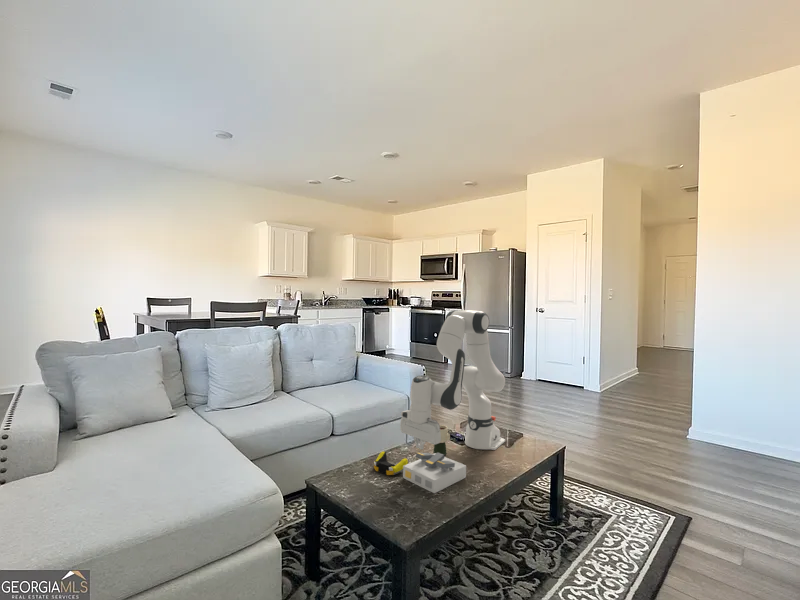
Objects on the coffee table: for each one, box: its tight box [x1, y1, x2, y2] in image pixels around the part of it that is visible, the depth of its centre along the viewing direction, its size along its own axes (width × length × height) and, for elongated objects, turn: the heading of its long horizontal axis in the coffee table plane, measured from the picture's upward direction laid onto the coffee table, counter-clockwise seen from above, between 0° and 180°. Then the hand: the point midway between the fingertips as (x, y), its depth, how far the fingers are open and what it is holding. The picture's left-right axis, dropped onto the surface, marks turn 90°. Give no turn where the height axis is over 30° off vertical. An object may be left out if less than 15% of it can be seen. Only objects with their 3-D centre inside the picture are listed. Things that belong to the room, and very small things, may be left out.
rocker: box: [425, 453, 445, 468], centre depth 164 cm, size 8×3×2 cm, turn 134°
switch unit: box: [402, 453, 467, 494], centre depth 164 cm, size 20×17×6 cm
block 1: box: [415, 452, 434, 460], centre depth 168 cm, size 8×3×2 cm, turn 134°
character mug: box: [432, 424, 451, 456], centre depth 188 cm, size 11×7×13 cm, turn 47°
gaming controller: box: [373, 451, 409, 476], centre depth 170 cm, size 15×6×10 cm
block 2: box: [436, 461, 455, 468], centre depth 160 cm, size 8×3×2 cm, turn 134°
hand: (419, 448), depth 165 cm, fingers closed
